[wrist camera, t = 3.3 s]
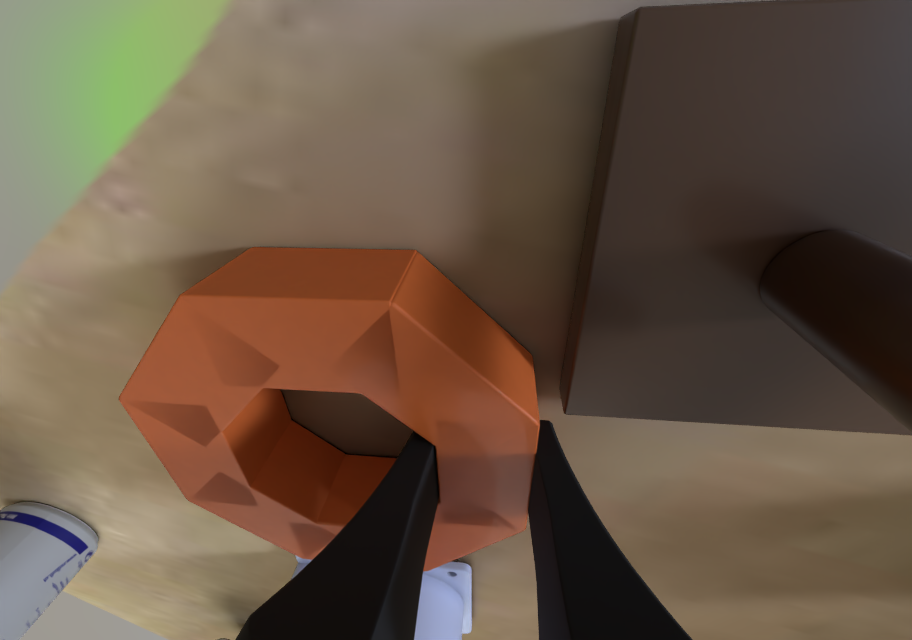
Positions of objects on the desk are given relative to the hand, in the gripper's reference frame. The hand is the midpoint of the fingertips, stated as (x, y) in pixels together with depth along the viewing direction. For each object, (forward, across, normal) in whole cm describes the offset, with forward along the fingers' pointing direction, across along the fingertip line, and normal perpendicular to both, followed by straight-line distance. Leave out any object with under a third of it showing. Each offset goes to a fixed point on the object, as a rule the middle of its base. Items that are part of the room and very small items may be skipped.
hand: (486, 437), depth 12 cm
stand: (+1, -7, -6) cm, 10 cm away
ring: (+1, +5, 0) cm, 5 cm away
